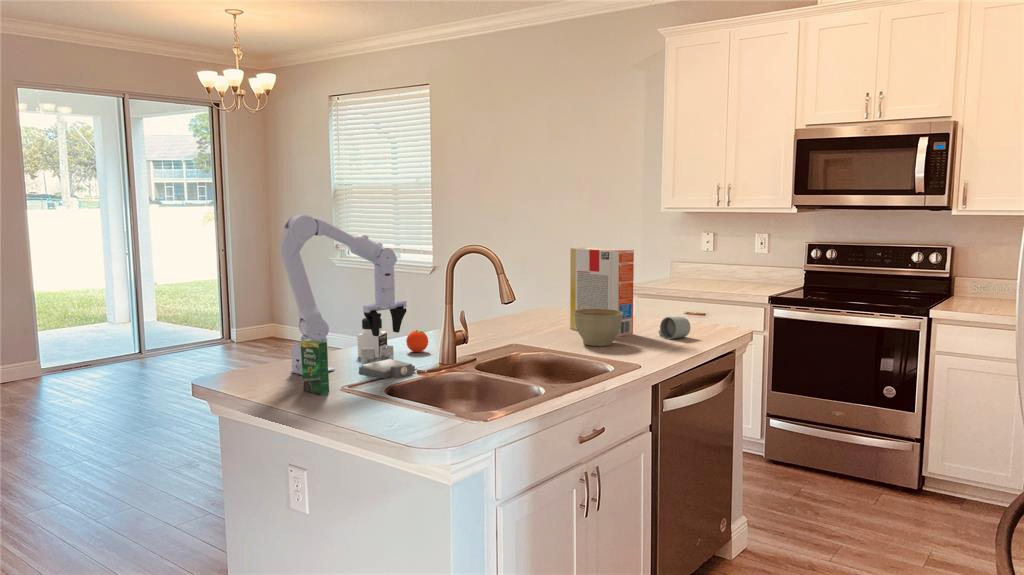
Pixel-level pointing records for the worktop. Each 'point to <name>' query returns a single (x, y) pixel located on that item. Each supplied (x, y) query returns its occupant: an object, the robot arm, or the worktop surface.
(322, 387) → the green cardboard box
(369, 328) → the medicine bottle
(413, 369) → the scale
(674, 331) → the ceramic mug
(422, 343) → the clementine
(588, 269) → the cereal box
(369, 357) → the spacer
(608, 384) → the worktop surface
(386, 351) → the spacer
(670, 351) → the worktop surface
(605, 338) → the planter bowl
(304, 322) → the robot arm
